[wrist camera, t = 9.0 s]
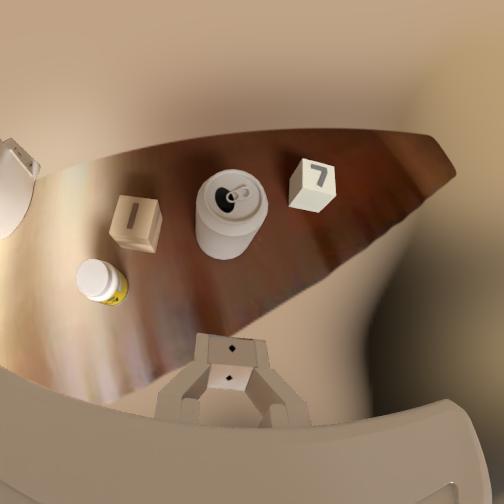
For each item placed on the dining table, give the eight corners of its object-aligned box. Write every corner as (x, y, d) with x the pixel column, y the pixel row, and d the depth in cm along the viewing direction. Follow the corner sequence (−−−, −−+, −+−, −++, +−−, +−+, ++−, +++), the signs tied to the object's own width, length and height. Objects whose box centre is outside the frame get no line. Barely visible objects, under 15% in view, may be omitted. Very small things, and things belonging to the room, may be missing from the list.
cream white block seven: (288, 206, 41) (303, 187, 35) (289, 179, 42) (303, 157, 36) (318, 212, 42) (336, 195, 36) (318, 185, 43) (334, 166, 37)
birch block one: (121, 247, 34) (108, 232, 28) (129, 214, 36) (119, 194, 30) (155, 253, 35) (147, 238, 29) (162, 219, 36) (157, 199, 31)
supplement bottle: (97, 306, 31) (71, 299, 23) (97, 271, 32) (73, 255, 25) (130, 305, 32) (111, 298, 24) (129, 270, 34) (111, 253, 26)
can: (188, 218, 37) (187, 172, 26) (238, 204, 39) (256, 156, 28) (205, 268, 36) (209, 240, 24) (257, 251, 38) (283, 218, 26)
